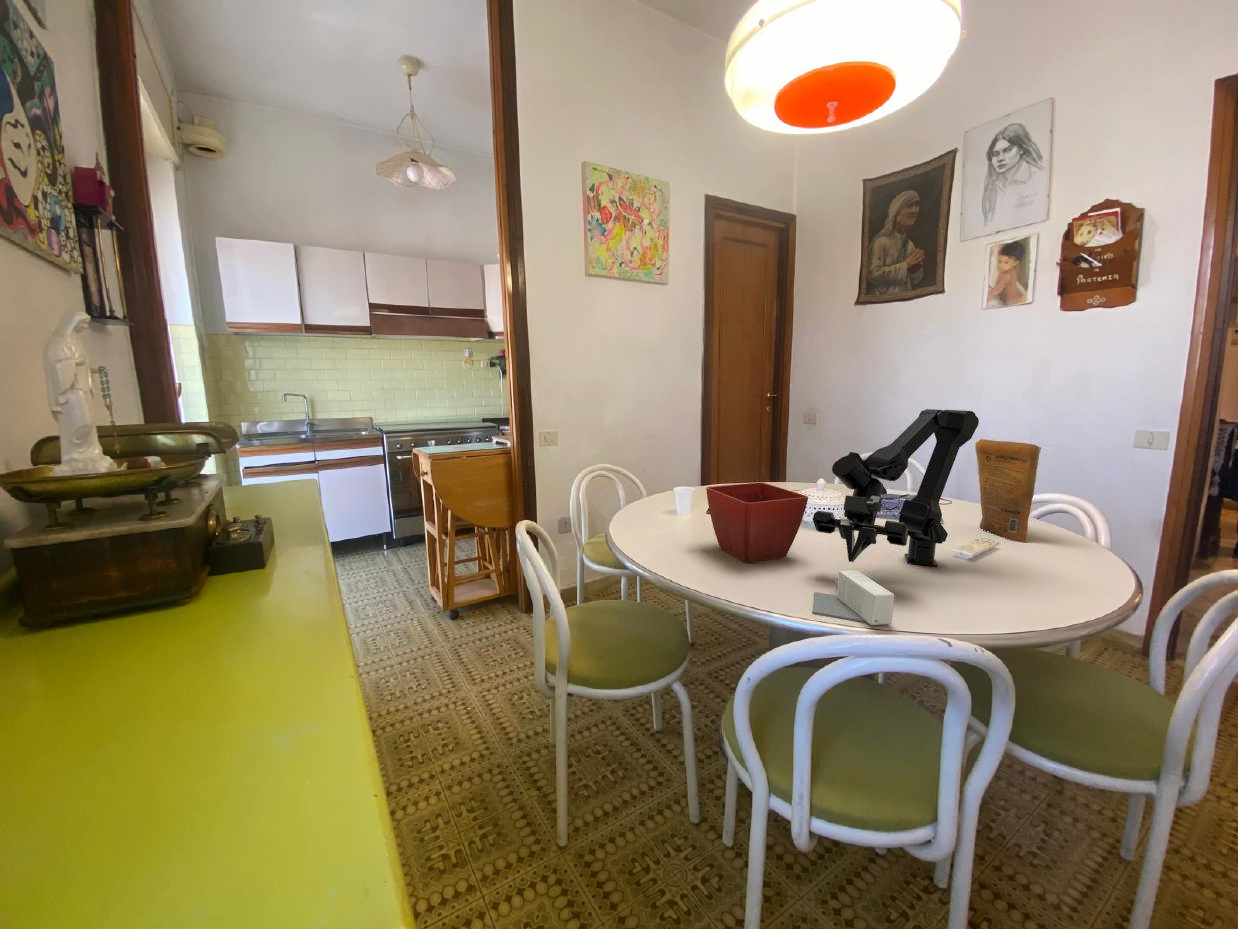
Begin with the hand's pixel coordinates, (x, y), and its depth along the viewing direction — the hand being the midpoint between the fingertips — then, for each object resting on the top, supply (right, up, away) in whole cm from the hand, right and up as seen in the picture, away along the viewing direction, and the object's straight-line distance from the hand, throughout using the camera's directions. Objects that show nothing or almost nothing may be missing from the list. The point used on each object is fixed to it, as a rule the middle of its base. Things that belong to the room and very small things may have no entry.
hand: (850, 561), depth 105 cm
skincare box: (-2, -4, -3) cm, 6 cm away
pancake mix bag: (+63, 0, +40) cm, 75 cm away
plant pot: (-14, -3, +25) cm, 29 cm away
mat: (-5, -8, -7) cm, 12 cm away
